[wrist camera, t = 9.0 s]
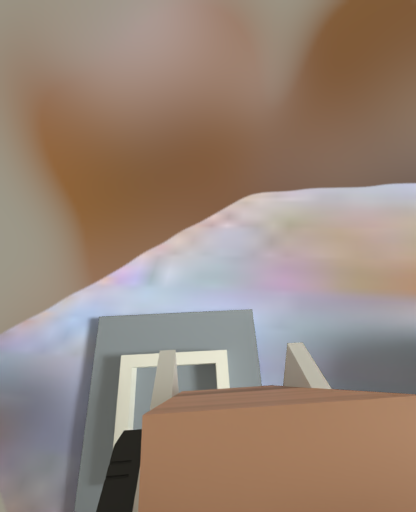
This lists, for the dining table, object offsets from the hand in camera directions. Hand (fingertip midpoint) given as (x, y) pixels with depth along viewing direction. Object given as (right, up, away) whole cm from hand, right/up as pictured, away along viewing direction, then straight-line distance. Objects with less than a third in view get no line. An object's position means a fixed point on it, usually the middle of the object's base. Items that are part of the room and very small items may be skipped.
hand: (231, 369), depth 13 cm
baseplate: (-4, -11, +14) cm, 18 cm away
